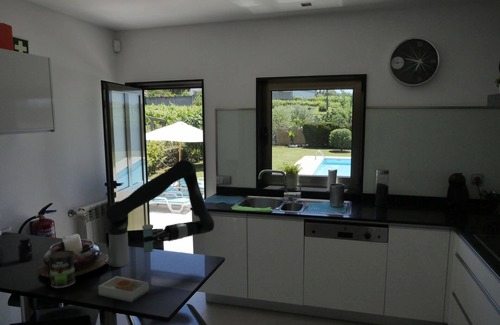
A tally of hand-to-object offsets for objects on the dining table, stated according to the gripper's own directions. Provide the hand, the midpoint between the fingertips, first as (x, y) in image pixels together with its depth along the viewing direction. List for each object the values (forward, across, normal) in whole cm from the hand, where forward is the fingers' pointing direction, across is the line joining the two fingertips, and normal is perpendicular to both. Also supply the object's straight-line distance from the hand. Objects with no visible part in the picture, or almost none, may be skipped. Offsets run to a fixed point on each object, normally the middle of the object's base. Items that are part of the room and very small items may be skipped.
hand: (142, 238), depth 164 cm
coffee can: (+29, -24, +22) cm, 44 cm away
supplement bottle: (+39, -68, +22) cm, 82 cm away
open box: (+10, +3, +22) cm, 24 cm away
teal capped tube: (-3, 0, +6) cm, 7 cm away
